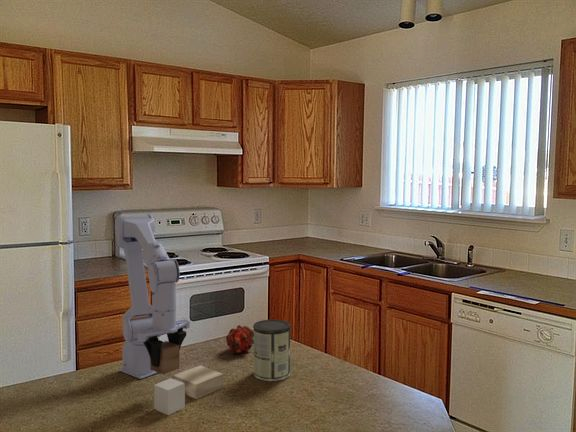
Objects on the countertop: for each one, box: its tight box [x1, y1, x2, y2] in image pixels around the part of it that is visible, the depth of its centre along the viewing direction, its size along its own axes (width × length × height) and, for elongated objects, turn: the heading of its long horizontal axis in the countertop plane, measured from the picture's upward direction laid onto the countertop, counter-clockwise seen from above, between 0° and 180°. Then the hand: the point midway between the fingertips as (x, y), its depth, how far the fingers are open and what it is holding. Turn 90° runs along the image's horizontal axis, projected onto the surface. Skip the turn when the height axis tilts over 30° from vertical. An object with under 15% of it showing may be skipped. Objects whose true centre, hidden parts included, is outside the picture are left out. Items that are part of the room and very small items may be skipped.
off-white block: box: [153, 377, 186, 416], centre depth 122 cm, size 5×5×6 cm
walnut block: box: [150, 340, 180, 375], centre depth 129 cm, size 5×5×6 cm
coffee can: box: [252, 319, 292, 382], centre depth 143 cm, size 10×10×14 cm
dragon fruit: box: [225, 324, 254, 355], centre depth 161 cm, size 8×8×12 cm
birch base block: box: [172, 364, 224, 400], centre depth 134 cm, size 9×9×4 cm
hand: (164, 362), depth 129 cm, fingers closed on walnut block, 5 cm apart
